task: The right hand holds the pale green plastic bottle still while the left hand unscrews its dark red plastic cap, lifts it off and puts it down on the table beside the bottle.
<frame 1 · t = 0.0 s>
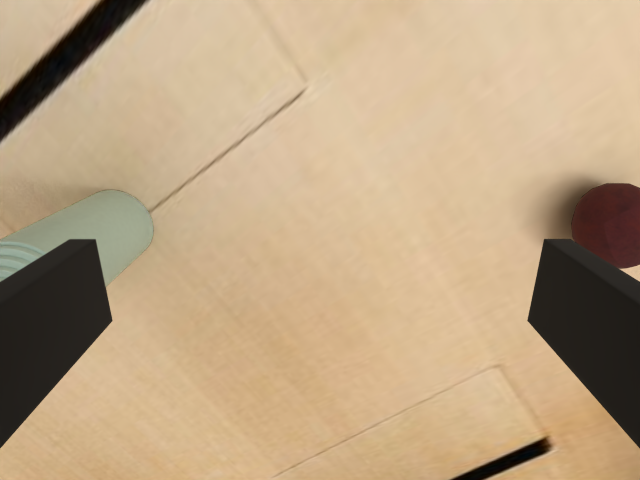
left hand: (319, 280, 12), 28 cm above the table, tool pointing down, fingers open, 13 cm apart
bottle: (117, 224, 41), on the table
dark red ball: (592, 212, 41), on the table
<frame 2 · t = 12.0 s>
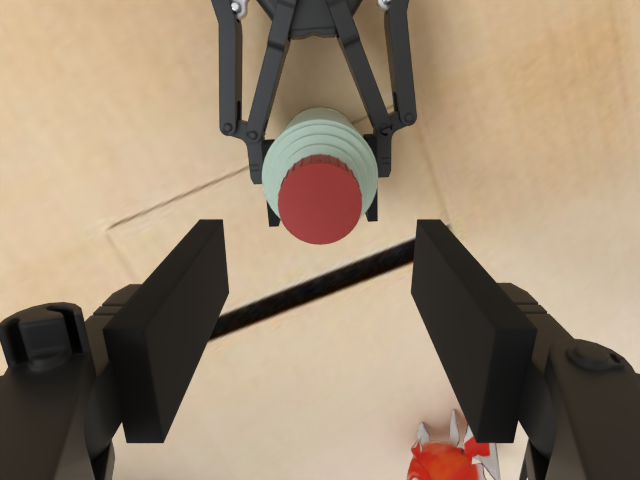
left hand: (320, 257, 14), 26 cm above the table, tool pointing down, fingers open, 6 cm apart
right hand: (323, 218, 34), fingers closed on bottle, 7 cm apart
cap: (319, 203, 20), point 20 cm above the table, screwed on, not yet turned
bottle: (319, 147, 39), on the table, touching right hand
fish: (453, 418, 50), on the table
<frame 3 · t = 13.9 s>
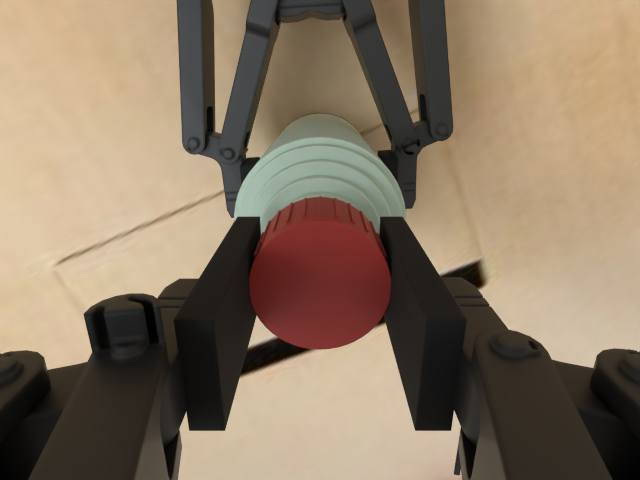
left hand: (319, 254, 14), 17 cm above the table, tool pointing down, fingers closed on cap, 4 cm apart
right hand: (324, 260, 26), fingers closed on bottle, 7 cm apart
cap: (320, 284, 12), point 20 cm above the table, screwed on, not yet turned, touching left hand
bottle: (320, 164, 30), on the table, touching right hand
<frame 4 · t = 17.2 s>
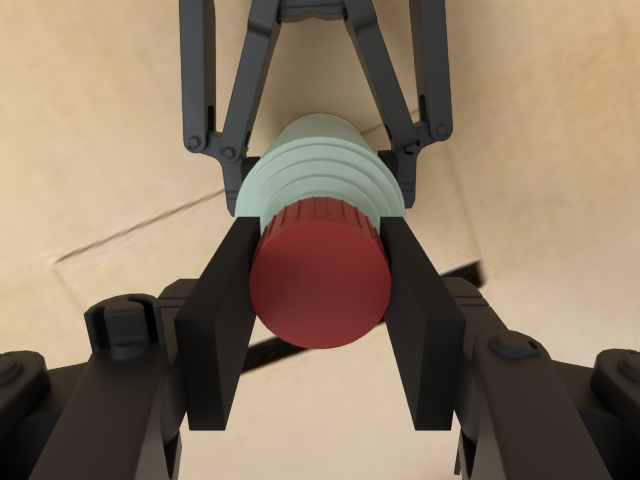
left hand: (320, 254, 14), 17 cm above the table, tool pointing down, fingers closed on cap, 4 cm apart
right hand: (323, 259, 26), fingers closed on bottle, 7 cm apart
cap: (320, 284, 12), point 20 cm above the table, turned 100° so far, risen 0.1 cm, still on its thread, touching left hand
bottle: (320, 163, 31), on the table, touching right hand
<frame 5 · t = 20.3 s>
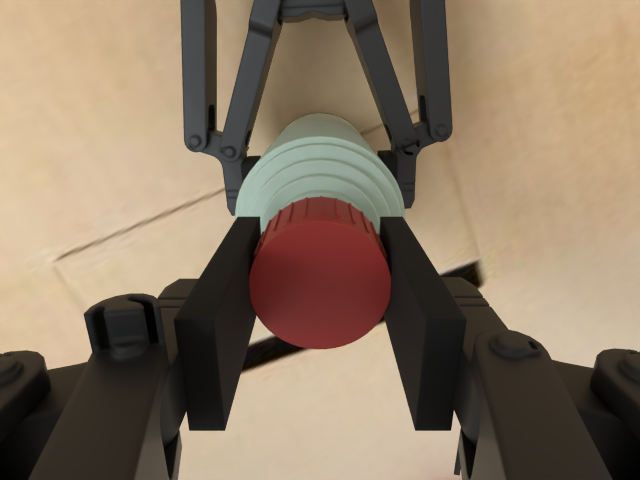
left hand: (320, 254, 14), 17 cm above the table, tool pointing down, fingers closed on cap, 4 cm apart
right hand: (323, 259, 26), fingers closed on bottle, 7 cm apart
cap: (319, 284, 12), point 20 cm above the table, turned 200° so far, risen 0.2 cm, still on its thread, touching left hand
bottle: (320, 163, 31), on the table, touching right hand
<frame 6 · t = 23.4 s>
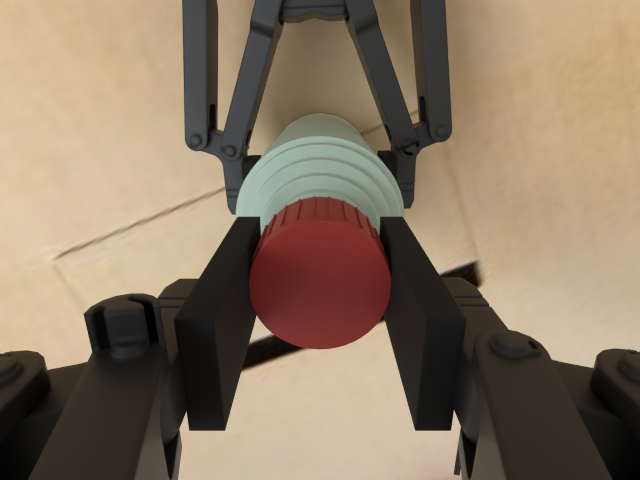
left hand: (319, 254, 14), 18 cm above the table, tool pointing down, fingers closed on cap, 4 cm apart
right hand: (322, 258, 26), fingers closed on bottle, 7 cm apart
cap: (319, 284, 12), point 20 cm above the table, turned 300° so far, risen 0.3 cm, still on its thread, touching left hand
bottle: (319, 163, 31), on the table, touching right hand
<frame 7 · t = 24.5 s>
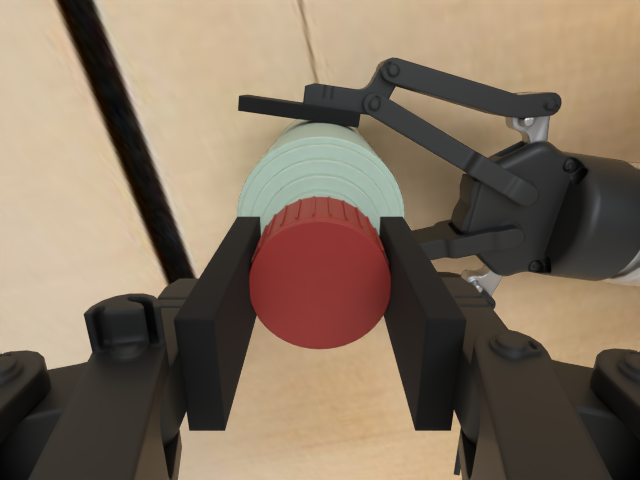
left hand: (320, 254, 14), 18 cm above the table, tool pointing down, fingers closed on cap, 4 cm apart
right hand: (238, 171, 25), fingers closed on bottle, 7 cm apart
cap: (320, 284, 12), point 20 cm above the table, off its thread, touching left hand
bottle: (320, 163, 31), on the table, touching right hand
when the left hand's fingers open (1 cm above the table, at t = 31.5 s): cap drops 2 cm, point 2 cm above the table.
when the right hand's fingers open (7 cm above the table, at t = 32.8 s): bottle stays where it is, on the table.
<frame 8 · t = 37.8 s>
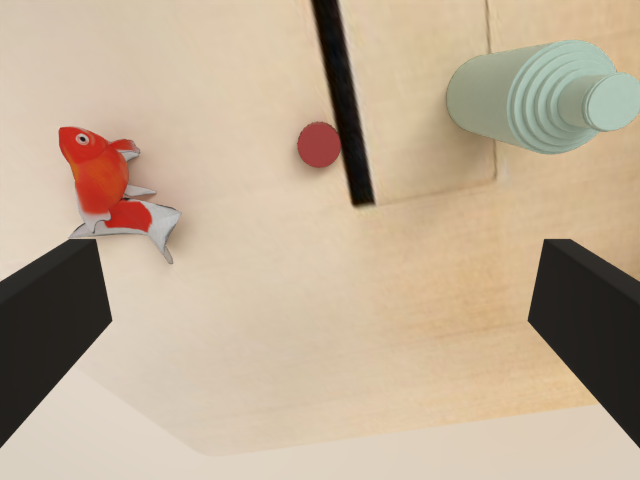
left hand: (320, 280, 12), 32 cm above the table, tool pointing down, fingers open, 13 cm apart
cap: (319, 145, 40), point 2 cm above the table, off its thread
bottle: (482, 94, 41), on the table
fish: (142, 191, 44), on the table
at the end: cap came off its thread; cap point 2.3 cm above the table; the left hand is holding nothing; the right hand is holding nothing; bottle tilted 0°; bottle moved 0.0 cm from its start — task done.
